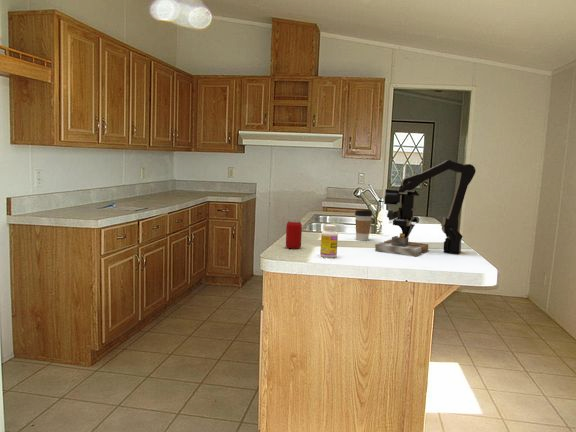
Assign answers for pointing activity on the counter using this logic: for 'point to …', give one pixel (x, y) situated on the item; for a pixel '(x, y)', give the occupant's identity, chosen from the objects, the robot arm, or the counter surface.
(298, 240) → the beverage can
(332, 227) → the supplement bottle
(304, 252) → the counter surface
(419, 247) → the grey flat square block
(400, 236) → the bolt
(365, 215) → the coffee cup
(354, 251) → the counter surface
